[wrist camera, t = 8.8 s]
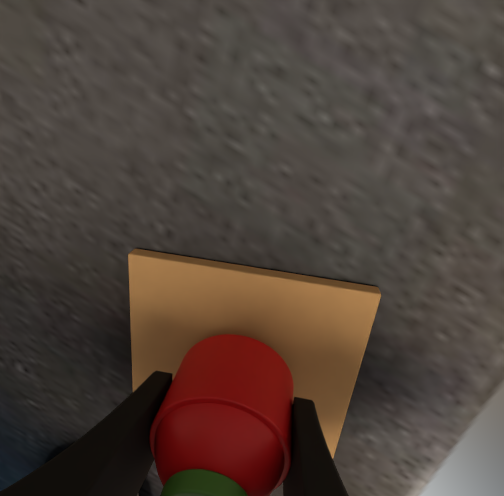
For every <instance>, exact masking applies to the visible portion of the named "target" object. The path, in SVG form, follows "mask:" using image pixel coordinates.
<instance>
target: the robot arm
mask: <svg viewBox="0 0 504 496" xmlns="http://www.w3.org/2000/svg"><path fill="white" fill-rule="evenodd" d="M171 383H172V373H167V372H162V371H157V370H156V371H154V372H153V373H152V374H151V375H150V376H149V377H148V378H147V379H146V380H145V381H144V382H143V383H142V384H141V385H140V386H139V387H138V388H137V389H136V390H135V391H134V392H133V393H132V394H131V395H130V396H129V397H128V398H126V399H125V400H124V401H123V402H122V403H121V404H120V405H119V406H118V407H117V408H115V409H114V410H113V411H112V412H111V413H110V414H109V415H108V416H106V417H105V418H104V419H103V420H102V421H101V422H99V423H98V424H97V425H96V426H94V427H93V428H92V429H91V430H90V431H88V432H87V433H86V434H85V435H84V436H82V437H81V438H80V439H78V440H77V441H76V442H75V443H73V444H72V445H71V446H69V447H68V448H67V449H65V450H64V451H62V452H61V453H60V454H58V455H57V456H55V457H54V458H53V459H51V460H50V461H48V462H47V463H45V464H44V465H42V466H41V467H39V468H38V469H36V470H35V471H33V472H32V473H30V474H29V475H27V476H26V477H24V478H22V479H21V480H19V481H18V482H16V483H14V484H13V485H11V486H9V487H8V488H6V489H4V490H2V491H1V492H0V496H137V495H138V492H139V490H140V488H141V486H142V484H143V482H144V480H145V478H146V476H147V474H148V471H149V469H150V467H151V465H152V463H153V461H154V459H155V458H154V456H153V454H152V451H151V447H150V441H149V435H150V428H151V425H152V423H153V421H154V418H155V416H156V414H157V412H158V410H159V408H160V406H161V404H162V402H163V400H164V398H165V396H166V394H167V391H168V389H169V387H170V385H171ZM283 496H348V494H347V491H346V489H345V487H344V485H343V483H342V480H341V478H340V476H339V474H338V471H337V469H336V466H335V464H334V461H333V459H332V456H331V454H330V451H329V449H328V446H327V443H326V440H325V438H324V435H323V432H322V429H321V426H320V422H319V419H318V416H317V412H316V408H315V403H314V402H313V401H312V400H309V399H304V398H299V397H294V401H293V407H292V455H291V467H290V470H289V473H288V475H287V476H286V478H285V480H284V481H283Z"/></svg>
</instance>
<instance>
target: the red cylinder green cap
mask: <svg viewBox="0 0 504 496" xmlns="http://www.w3.org/2000/svg"><path fill="white" fill-rule="evenodd" d="M293 389H294V387H293V378H292V375H291V372H290V370H289V368H288V366H287V364H286V363H285V361H284V360H283V359H282V357H281V356H280V355H279V354H278V353H277V352H276V351H274V350H273V349H272V348H271V347H269V346H267V345H266V344H264V343H262V342H260V341H258V340H256V339H253V338H250V337H246V336H242V335H234V334H224V335H216V336H212V337H209V338H206V339H204V340H202V341H200V342H198V343H197V344H195V345H194V346H193V347H192V348H191V349H190V350H189V351H188V352H187V353H186V355H185V356H184V358H183V360H182V362H181V364H180V367H179V369H178V371H177V373H176V375H175V377H174V379H173V381H172V383H171V385H170V387H169V389H168V391H167V394H166V396H165V398H164V400H163V402H162V404H161V406H160V408H159V410H158V412H157V414H156V416H155V418H154V421H153V423H152V425H151V428H150V435H149V441H150V447H151V451H152V454H153V456H154V458H155V463H156V468H157V472H158V475H159V477H160V480H161V482H162V484H163V486H164V487H163V490H162V493H161V496H269V495H270V494H271V493H272V491H274V490H275V489H276V488H277V487H279V486H280V485H281V484H282V482H283V481H284V480H285V478H286V476H287V475H288V473H289V470H290V467H291V455H292V407H293Z"/></svg>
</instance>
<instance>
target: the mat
mask: <svg viewBox="0 0 504 496" xmlns="http://www.w3.org/2000/svg"><path fill="white" fill-rule="evenodd" d="M128 262H129V292H130V321H131V351H132V380H133V392H134V391H135V390H136V389H137V388H138V387H139V386H140V385H141V384H142V383H143V382H144V381H145V380H146V379H147V378H148V377H149V376H150V375H151V374H152V373H153V372H154V371H156V370H157V371H162V372H167V373H172V381H173V379H174V377H175V375H176V373H177V371H178V369H179V367H180V364H181V362H182V360H183V358H184V356H185V355H186V353H187V352H188V351H189V350H190V349H191V348H192V347H193V346H194V345H195V344H197V343H198V342H200V341H202V340H204V339H206V338H209V337H212V336H216V335H224V334H234V335H242V336H246V337H250V338H253V339H256V340H258V341H260V342H262V343H264V344H266V345H267V346H269V347H271V348H272V349H273V350H274V351H276V352H277V353H278V354H279V355H280V356H281V357H282V359H283V360H284V361H285V363H286V364H287V366H288V368H289V370H290V372H291V375H292V378H293V387H294V389H293V401H294V397H299V398H304V399H309V400H312V401H313V402H314V403H315V408H316V412H317V416H318V419H319V422H320V426H321V429H322V432H323V435H324V438H325V440H326V443H327V446H328V449H329V451H330V454H331V456H332V459H333V457H334V454H335V450H336V447H337V444H338V440H339V437H340V433H341V430H342V427H343V423H344V420H345V416H346V413H347V410H348V406H349V403H350V400H351V396H352V393H353V389H354V386H355V383H356V379H357V376H358V372H359V369H360V366H361V362H362V359H363V356H364V352H365V349H366V345H367V342H368V339H369V335H370V332H371V328H372V325H373V322H374V318H375V315H376V311H377V308H378V305H379V301H380V298H381V293H380V291H379V288H378V287H375V286H368V285H362V284H356V283H350V282H343V281H337V280H331V279H324V278H318V277H312V276H306V275H299V274H293V273H287V272H280V271H274V270H268V269H262V268H255V267H249V266H243V265H236V264H230V263H224V262H218V261H211V260H205V259H199V258H192V257H186V256H180V255H174V254H167V253H161V252H155V251H148V250H142V249H134V250H133V251H131V252H130V253H129V254H128Z"/></svg>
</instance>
